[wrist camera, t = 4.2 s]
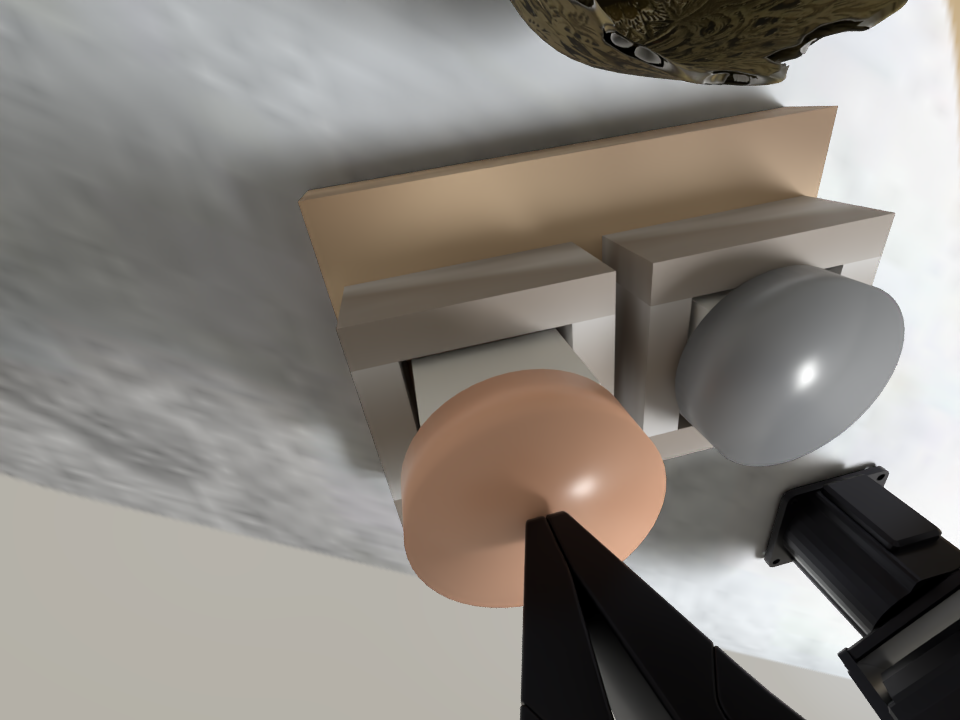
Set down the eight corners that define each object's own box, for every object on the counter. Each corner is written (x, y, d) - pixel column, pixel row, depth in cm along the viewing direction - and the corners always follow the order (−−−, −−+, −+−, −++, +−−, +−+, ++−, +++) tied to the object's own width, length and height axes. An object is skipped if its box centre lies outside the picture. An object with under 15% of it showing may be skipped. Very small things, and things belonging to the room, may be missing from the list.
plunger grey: (760, 369, 17) (866, 440, 14) (624, 401, 17) (696, 485, 13) (790, 224, 14) (936, 262, 11) (629, 257, 14) (723, 310, 10)
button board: (733, 395, 21) (823, 467, 17) (398, 477, 19) (404, 579, 15) (785, 106, 15) (947, 104, 11) (308, 190, 13) (275, 226, 9)
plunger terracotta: (585, 452, 15) (657, 570, 11) (418, 494, 14) (433, 632, 10) (582, 295, 12) (677, 380, 8) (373, 339, 11) (371, 453, 8)
